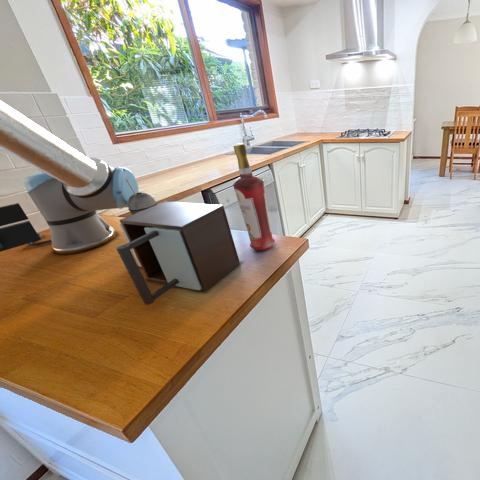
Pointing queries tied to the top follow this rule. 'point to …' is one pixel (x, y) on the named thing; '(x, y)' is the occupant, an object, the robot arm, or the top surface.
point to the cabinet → (187, 239)
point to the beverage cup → (139, 201)
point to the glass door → (161, 262)
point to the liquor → (252, 202)
